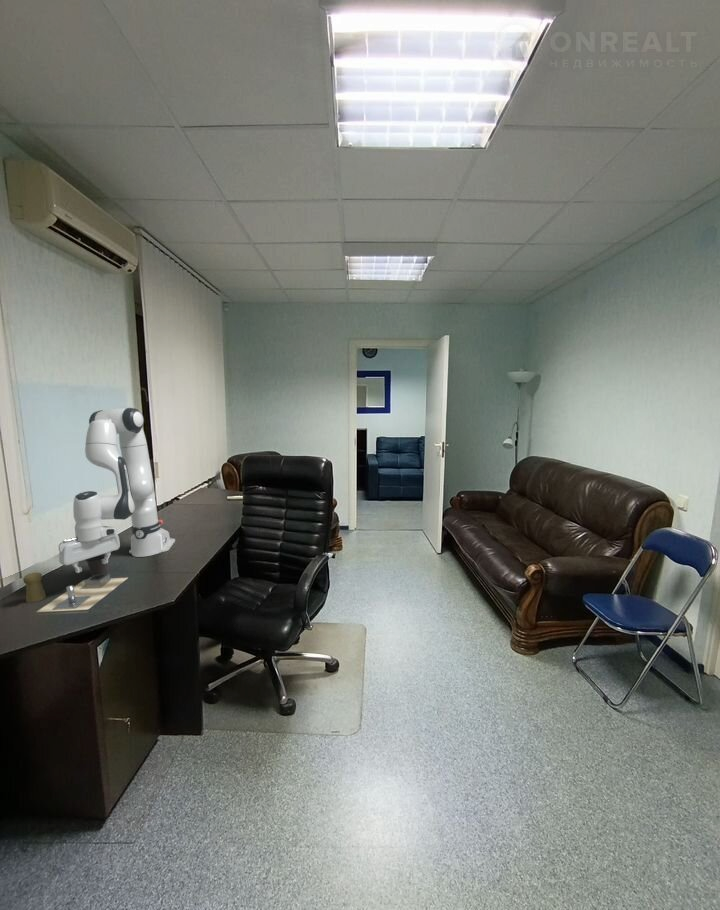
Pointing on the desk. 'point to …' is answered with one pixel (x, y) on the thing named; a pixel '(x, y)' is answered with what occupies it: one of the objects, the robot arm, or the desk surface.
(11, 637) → the desk surface
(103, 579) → the link
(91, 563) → the coffee cup
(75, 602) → the post
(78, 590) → the board
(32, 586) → the cork
